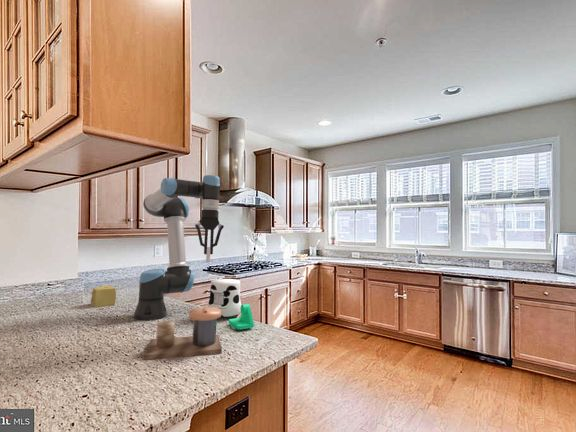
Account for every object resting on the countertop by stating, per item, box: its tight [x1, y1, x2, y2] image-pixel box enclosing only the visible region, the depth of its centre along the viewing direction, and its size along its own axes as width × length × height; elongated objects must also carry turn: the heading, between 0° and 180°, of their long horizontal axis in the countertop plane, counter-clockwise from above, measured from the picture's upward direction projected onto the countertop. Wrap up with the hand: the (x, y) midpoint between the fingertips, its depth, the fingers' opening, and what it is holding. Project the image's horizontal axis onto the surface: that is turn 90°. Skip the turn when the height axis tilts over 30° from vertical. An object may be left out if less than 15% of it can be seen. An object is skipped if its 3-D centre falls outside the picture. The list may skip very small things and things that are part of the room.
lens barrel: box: [192, 319, 217, 347], centre depth 120 cm, size 8×8×10 cm
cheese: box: [90, 285, 117, 308], centre depth 178 cm, size 10×11×10 cm
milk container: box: [207, 278, 242, 319], centre depth 163 cm, size 17×17×18 cm
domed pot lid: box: [188, 306, 221, 321], centre depth 120 cm, size 12×12×5 cm
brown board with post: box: [143, 320, 223, 360], centre depth 118 cm, size 26×16×10 cm, turn 107°
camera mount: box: [228, 303, 255, 330], centre depth 145 cm, size 12×8×10 cm, turn 32°
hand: (208, 261), depth 140 cm, fingers closed
